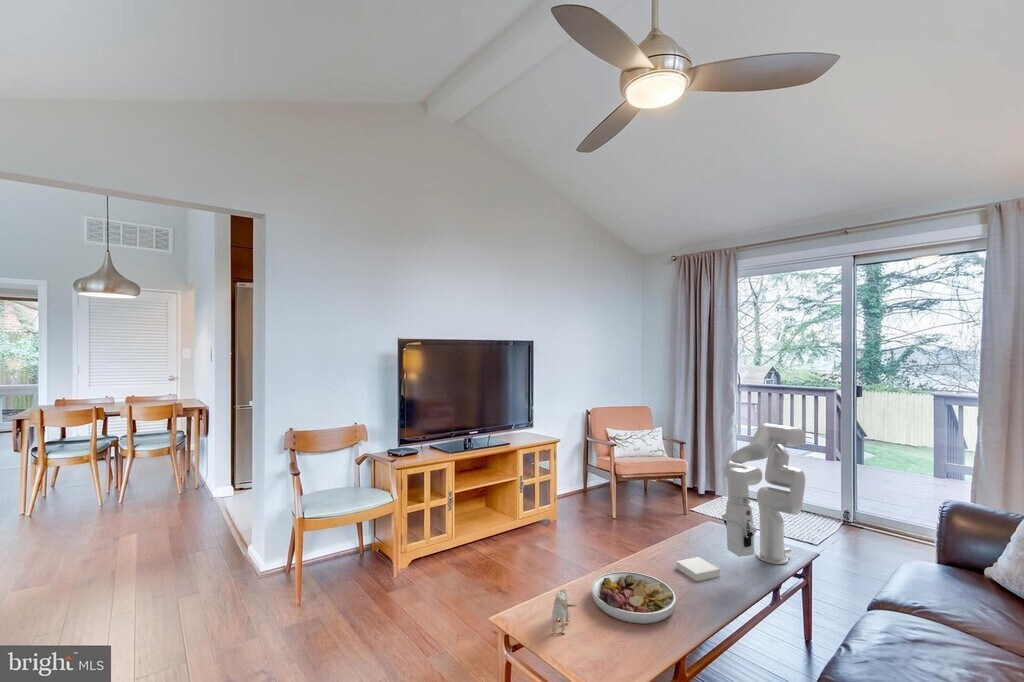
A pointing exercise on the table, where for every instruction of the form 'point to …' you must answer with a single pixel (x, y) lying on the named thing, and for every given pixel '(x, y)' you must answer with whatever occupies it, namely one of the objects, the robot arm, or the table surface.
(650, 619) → the bowl
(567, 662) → the table surface
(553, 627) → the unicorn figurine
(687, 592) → the table surface
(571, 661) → the table surface
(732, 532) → the supplement box
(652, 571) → the table surface
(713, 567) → the plinth
